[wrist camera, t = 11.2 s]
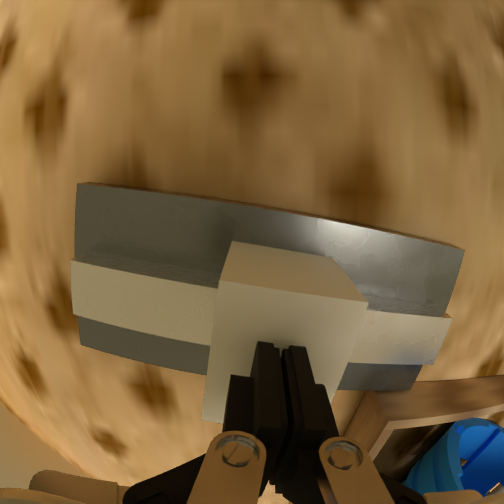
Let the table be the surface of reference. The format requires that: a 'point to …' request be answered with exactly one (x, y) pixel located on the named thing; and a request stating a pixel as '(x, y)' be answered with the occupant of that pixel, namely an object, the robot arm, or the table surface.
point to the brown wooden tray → (423, 408)
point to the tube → (466, 447)
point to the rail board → (210, 268)
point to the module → (280, 316)
